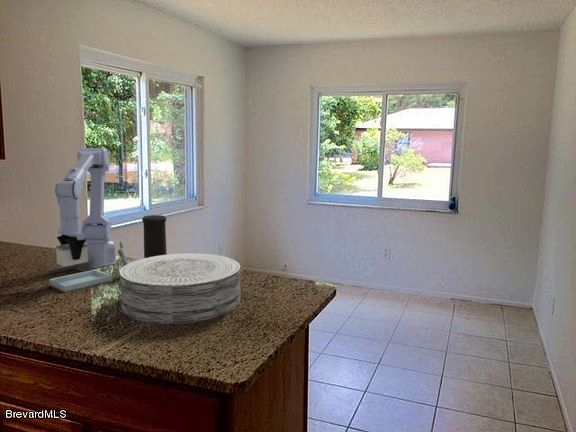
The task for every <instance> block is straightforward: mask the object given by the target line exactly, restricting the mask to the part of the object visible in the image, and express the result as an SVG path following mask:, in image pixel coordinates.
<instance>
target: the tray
mask: <svg viewBox="0 0 576 432" xmlns="http://www.w3.org/2000/svg"><path fill="white" fill-rule="evenodd" d="M110 282H111V283H112V282H113V275H112V274H109V273H107V272H104V271H102V270H99V269H92V270H91V271H86V272H82V271H80V272H77V273H73V274H72V273H71V274H68V275H64V276H63V275H62V276H59V277H54V278H49V282H48V283H49V286H51V287H53V288H55V289H57V290H58V291H61V292H64V293H68V292H72V291H77V290H81V289H85V288H91V287H94V286H99V285H103V284H107V283H110Z"/></svg>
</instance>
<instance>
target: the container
mask: <svg viewBox="0 0 576 432" xmlns="http://www.w3.org/2000/svg"><path fill="white" fill-rule="evenodd" d="M141 221H142V223H143V259H144V258H149V257H154V256H160V255H168V254H167V235H166V234H167V233H166V231H167V230H166V229H167V228H166V227H167V225H166V222H167V217H166V216H165V215H161V214H153V215H152V214H151V215H145V216H143V217H141Z"/></svg>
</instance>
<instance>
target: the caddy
mask: <svg viewBox="0 0 576 432" xmlns="http://www.w3.org/2000/svg"><path fill="white" fill-rule="evenodd" d="M55 253H56V254H55V255H56V264H57V265H60V266H61V267H66V266H71V265H74V264H80V263H85V262H88V252H87V243H84V245H83V248H82V252H81V257H80V259H78V260H73V259H72V255H71V250H70V247H69V244H65V245H61V244H59V245H55Z"/></svg>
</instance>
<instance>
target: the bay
mask: <svg viewBox="0 0 576 432" xmlns="http://www.w3.org/2000/svg"><path fill="white" fill-rule="evenodd" d="M73 269H74V270H77V271H80V272H86V271H91V270H93V268H92V260H89V259H88V262H85V263H80V264H74V265H69V266H61V267H56V268H52V269H46V270H44V271H45V272H44V273H45V275H48V274H54V273H58V272H59V273H60V272H64V271H69V270H73Z"/></svg>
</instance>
